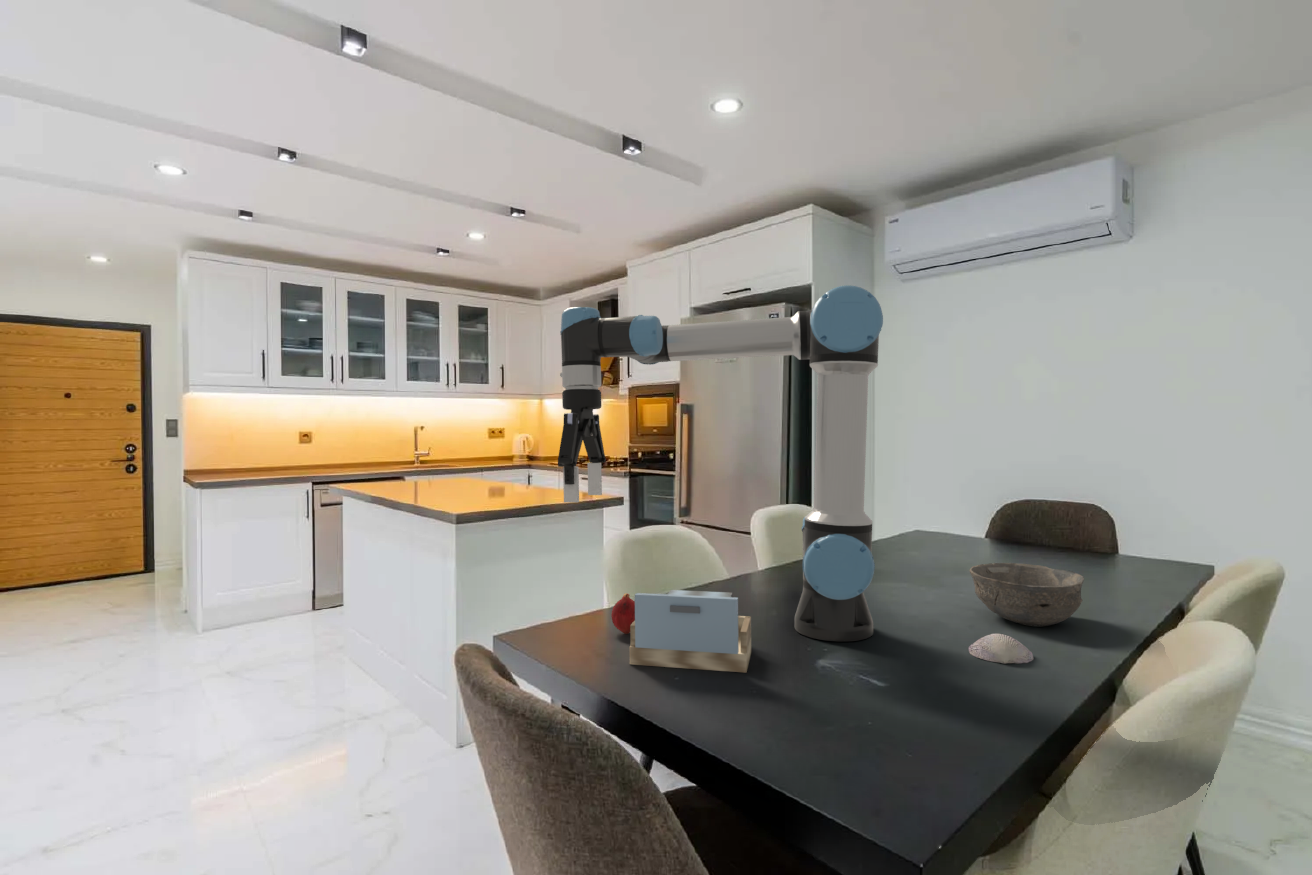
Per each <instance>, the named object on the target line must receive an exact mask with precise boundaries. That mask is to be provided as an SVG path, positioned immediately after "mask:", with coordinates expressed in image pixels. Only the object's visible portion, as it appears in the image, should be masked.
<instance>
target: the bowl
mask: <svg viewBox="0 0 1312 875" xmlns="http://www.w3.org/2000/svg"><path fill="white" fill-rule="evenodd" d="M969 574H970V576H971V577H972V580H973V585H974V592H975V594H976V597H977V598H978V599H979V600H980V601H981V602H982V604H984V605H985V606H986V608H987V609H989V610H990V611H991V612H993V613H994V614H996V615H998V616H999V617H1001V618H1003V619H1005V620H1007V621H1011V622H1012V623H1017V624H1019V625H1024V626H1028V627H1048V626H1053V625H1055V624H1056V625H1058V624H1059V623H1062V622H1064V621H1065V620H1067V619H1068V618H1071V616H1072V615H1073V614H1074V613H1075V612H1076V611H1078V609H1079V608H1080V606H1081V605H1082V602H1083V599H1082V586H1083V584H1084V581H1085V576H1083V575H1081V574H1079V573H1077V572H1075V571H1073V570H1072V571H1071V570H1066V569H1058V568H1049V567H1048V566H1045V565H1037V564H1029V563H1015V562H1014V563H1013V562H993V563H985V564H982V563H981V564H978V565H973V566H972V567H971V568H970V569H969Z"/></svg>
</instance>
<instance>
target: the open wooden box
mask: <svg viewBox="0 0 1312 875" xmlns="http://www.w3.org/2000/svg"><path fill="white" fill-rule="evenodd" d="M667 594H671V595H692V596H714V597H733V592H729V591H727V592H725V591H706V590H705V591H704V590H702V591H701V590H684V589H683V590H681V589H670V590H669V592H668V593H667ZM629 634H630V640H629V641H630V646H629V648H628V649H629V651H628V652H629V660H628V661H629V665H635V666H648V667H662V668H664V667H665V668H673V669H674V668H677V669H688V670H689V669H690V670H691V669H692V670H704V671H719V672H734V673H735V672H736V673H748V672H747V671H748V668H749V663H750V660H751V655H752V616H749V615H738V646H739V652H738V654H729V653H714V652H698V651H683V650H668V649H652V648H637V647H635V621H634V622H633V623H632V624H631V625H630V633H629Z"/></svg>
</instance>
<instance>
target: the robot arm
mask: <svg viewBox="0 0 1312 875" xmlns="http://www.w3.org/2000/svg"><path fill="white" fill-rule="evenodd" d="M600 313H601V312H600V310H598V309H597V308H595V307H589V306H586V307H585V306H584V307H583V306H574V307H573V306H572V307H568V308H566V309H564V310H563V311H562V313H561V321H560V322H561V324H560V325H561V326H560V342H561V343H560V344H561V345H560V347H561V348H560V349H561V372H560V373H559V376H560V378H561V381H562V387H563V388H564V389H563V391H562V392H561V398H562V399H561V400H562V409H563V410H568V411H570V412H565V413H564V414H563V426H562V432H561V439H560V445H559V451H558V457H557V467H558V468H562V471H563V472H562V475H563V477H562V478H563V482H562V483H563V503H579V502H580V484H579V483H580V481H579V480H580V478H579V477H580V476H579V473H580V472H579V469H580V468H579V466H577V464H578V459H579V455H580V452H581V448H582V444H583V445H584V449H585V451H586V454H587V458H588V462H587V496H602V494H603V490H602V489H603V487H602V486H603V485H602V484H603V483H602V481H603V480H602V479H603V478H602V474H603V473H602V463H606V460H607V459H606V454H605V450H604V443H603V442H604V441H603V438H602V432H601V425H600V415H599V414H594V412H593V411H594V410H600V409H602V391H601V389H599V388H601V387H602V366H601V364H602V363H601V360H602V359H601V358H620V357H621V358H623V357H624V358H625V357H628V358H630V359H632V360H634V361H637V362H638V363H639V364H642V365H649V366H650V365H656V364H659V363H667V362H680V361H697V360H699V361H703V360H720V359H722V360H723V359H739V358H740V359H742V358H743V359H744V358H758V357H779V356H780V357H781V356H794V357H795V358H797V360H800V361H801V360H804V361H805V360H809V367H810V368H811V369H812V370H813V371H814V372H815V374H817V393H816V396H817V399H816V422H815V423H816V424H815V427H816V429H815V433H816V434H815V460H814V485H813V486H814V487H813V491H814V492H813V494H814V495H813V508H812V510H811V511H810V512H809V513H807V514H806V515H805V516H804V517H803V519H802V526H801V531H802V563H801V564H802V581H803V582H802V593H801V594H800V598H799V602H798V605H797V608H796V612H795V615H794V629H795V631H796V632H797V633H799V634H801V635H803V636H805V637H808V638H811V639H817V640H821V641H827V642H855V641H856V642H857V641H862V640H866V639H869V638H871V636H873V635H874V621H873V617H872V614H871V611H870V608H869V606H868V602H867V598H866V596H865V593H864V592H865V591H866V589H868V587H869V586H870V584H871V582H872V580H873V577H874V575H875V568H876V566H875V565H876V564H875V563H876V562H875V561H874V556H873V554H872V550H873V548H872V545H873V520H872V519H871V518H870V516H868V515H867V514H866V512H865V511H864V510H865V484H866V482H865V480H866V479H865V478H866V454H867V452H866V451H867V427H868V426H867V424H868V423H867V420H868V397H869V396H868V395H869V394H868V392H869V390H868V389H869V375H870V374H871V373H872V372H873V371H874V370H875V369H876V368H878V365H879V364H878V363H879V340H880V338H879V337H880V333H881V331H882V328H883V324H884V315H883V310H882V306H881V304H880V303H879V300H877V298H876V297H875V295H874V294H872V293H871V292H870V291H868V290H867V289H864V288H863V287H860V286H857V285H852V284H851V285H849V284H847V285H840V286H837V287H833V288H832V289H829V290H828V291H826V292H825V293H823V295H822V296H820V297H819V298H818V299H817V301H816V302H815V303H814V304H813V307H812V309H808V310H798V311H797V312H796V313H795V314H794V315H792V316H788V317H787V316H785V317H772V318H771V317H769V318H757V319H755V318H754V319H742V320H729V321H727V320H726V321H725V320H724V321H711V322H697V323H682V324H681V323H680V324H669V325H662V323H661V320H660V318H659V317H658V316H656V315H643V314H639V315H632V316H619V317H618V316H616V317H602V316H601V314H600Z"/></svg>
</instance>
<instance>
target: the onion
mask: <svg viewBox="0 0 1312 875" xmlns="http://www.w3.org/2000/svg"><path fill="white" fill-rule="evenodd" d="M611 621H612V624H613V626H614V627H615V628H616V629H617V630H618V631H619V632H621V633H622V634H624V635H628V634H630V625H631V624H632V623H633V622H634V621H635V600H633V599H632V598H630V594H629V593H628V592H627V593H624V594H623V595H622V597H621V599H619V600H618V601H617V602H616V603H615V604H614V605H613V607H612V610H611Z"/></svg>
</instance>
